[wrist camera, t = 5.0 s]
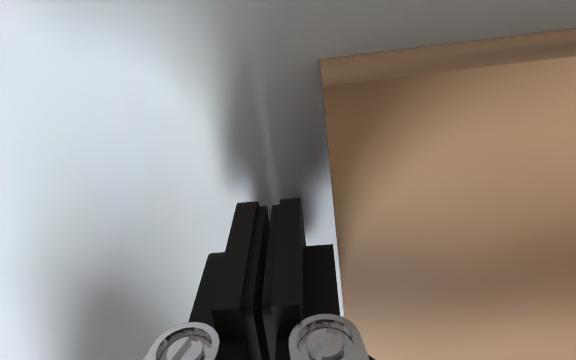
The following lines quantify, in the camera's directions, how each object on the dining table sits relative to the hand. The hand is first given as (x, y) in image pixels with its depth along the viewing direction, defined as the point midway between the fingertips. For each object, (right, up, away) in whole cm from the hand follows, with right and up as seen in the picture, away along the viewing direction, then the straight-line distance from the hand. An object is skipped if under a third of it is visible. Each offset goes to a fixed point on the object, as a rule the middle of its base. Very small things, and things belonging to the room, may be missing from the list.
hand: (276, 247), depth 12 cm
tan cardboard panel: (+7, +1, +1) cm, 7 cm away
